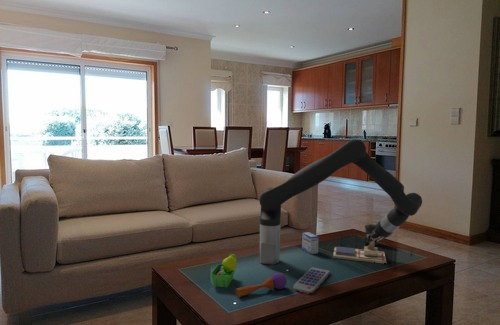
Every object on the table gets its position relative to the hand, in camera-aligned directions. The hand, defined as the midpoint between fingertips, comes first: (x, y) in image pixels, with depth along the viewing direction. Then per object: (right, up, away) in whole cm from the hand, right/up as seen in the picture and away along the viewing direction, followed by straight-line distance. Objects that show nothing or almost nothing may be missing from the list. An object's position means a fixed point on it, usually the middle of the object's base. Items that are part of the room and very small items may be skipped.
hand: (368, 243), depth 169 cm
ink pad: (-10, -5, +2) cm, 11 cm away
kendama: (-52, -9, -39) cm, 66 cm away
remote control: (-32, -9, -29) cm, 44 cm away
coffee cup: (+8, -5, +19) cm, 22 cm away
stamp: (+1, -5, -2) cm, 5 cm away
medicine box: (-27, -5, +6) cm, 28 cm away
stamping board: (-4, -6, 0) cm, 7 cm away
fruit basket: (-66, -8, -31) cm, 74 cm away
